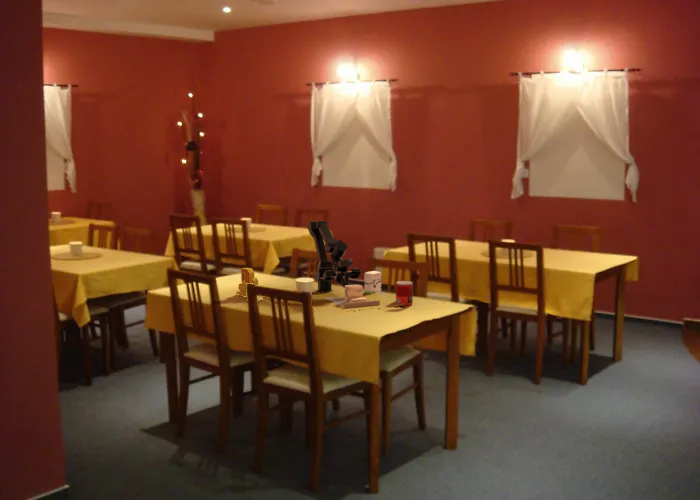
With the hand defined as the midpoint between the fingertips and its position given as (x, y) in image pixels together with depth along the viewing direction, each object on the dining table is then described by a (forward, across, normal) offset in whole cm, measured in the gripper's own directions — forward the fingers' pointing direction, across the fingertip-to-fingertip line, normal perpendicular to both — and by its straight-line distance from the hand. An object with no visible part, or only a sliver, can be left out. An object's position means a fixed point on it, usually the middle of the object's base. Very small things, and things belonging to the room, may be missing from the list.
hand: (346, 288), depth 368 cm
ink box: (-2, +19, +12) cm, 23 cm away
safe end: (+15, 0, -6) cm, 16 cm away
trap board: (+7, 0, +3) cm, 7 cm away
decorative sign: (-15, -40, +26) cm, 50 cm away
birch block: (+12, 0, -4) cm, 12 cm away
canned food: (+17, +22, -8) cm, 29 cm away
